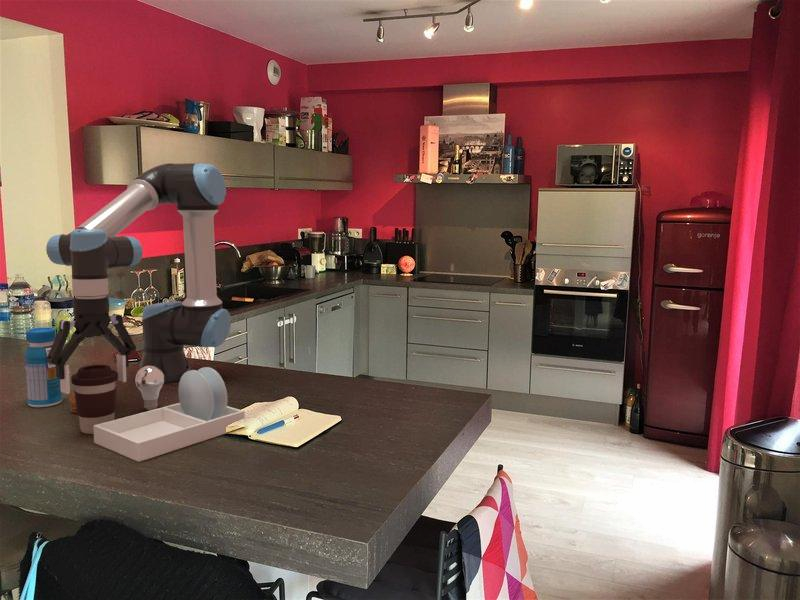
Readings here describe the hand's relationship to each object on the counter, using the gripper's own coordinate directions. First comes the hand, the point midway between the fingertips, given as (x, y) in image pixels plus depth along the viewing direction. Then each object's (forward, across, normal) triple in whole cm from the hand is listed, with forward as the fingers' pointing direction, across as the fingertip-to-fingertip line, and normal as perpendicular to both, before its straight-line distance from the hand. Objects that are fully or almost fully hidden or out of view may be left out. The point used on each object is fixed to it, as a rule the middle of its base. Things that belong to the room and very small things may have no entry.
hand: (94, 386), depth 153 cm
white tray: (+10, -9, +16) cm, 22 cm away
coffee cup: (+11, 0, 0) cm, 11 cm away
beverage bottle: (+10, -2, -30) cm, 32 cm away
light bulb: (+10, -16, -3) cm, 20 cm away
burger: (+11, -7, -17) cm, 21 cm away
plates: (+9, -18, +16) cm, 26 cm away
